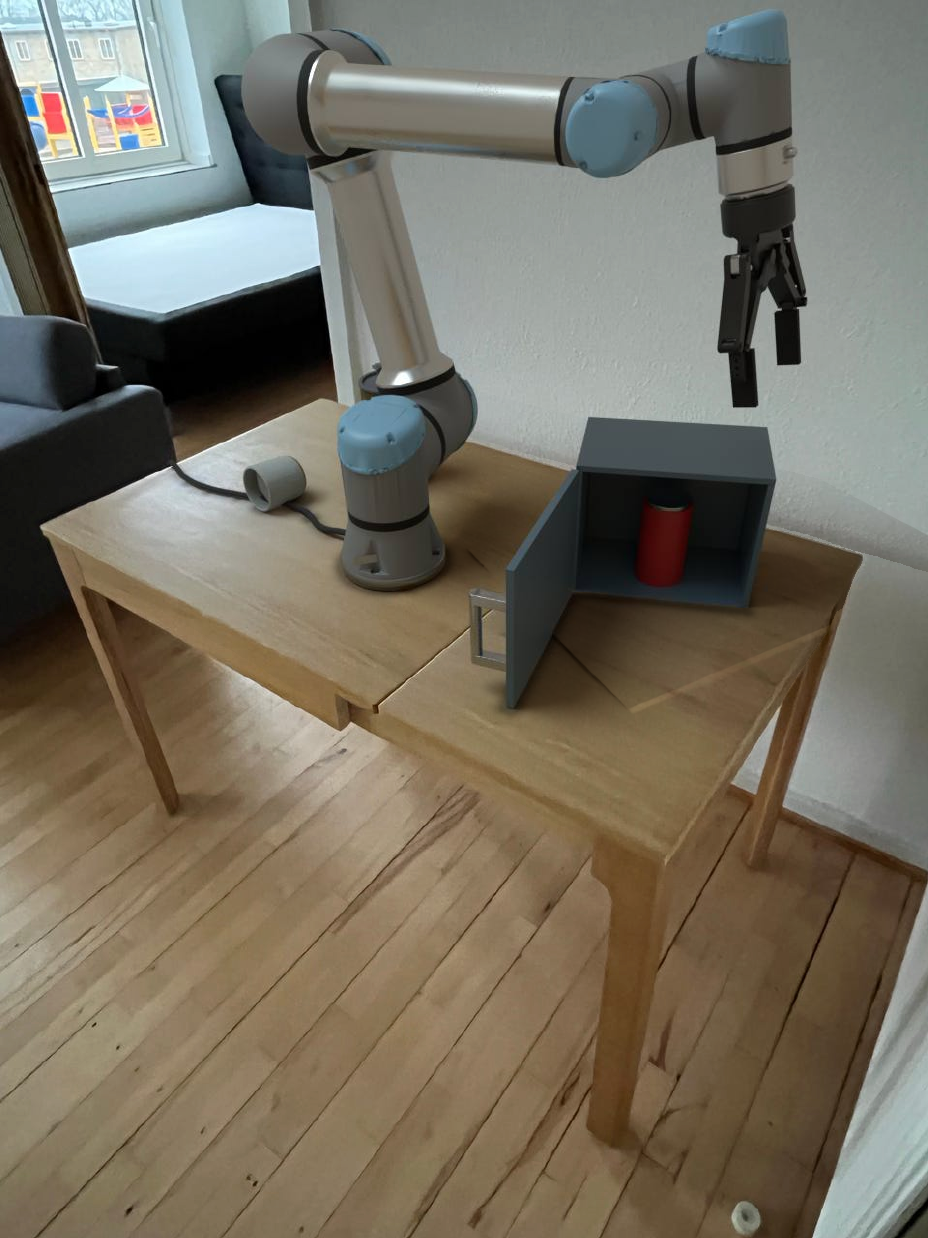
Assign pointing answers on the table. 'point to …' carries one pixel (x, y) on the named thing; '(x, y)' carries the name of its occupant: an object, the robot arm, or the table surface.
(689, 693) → the table surface
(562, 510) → the fridge door
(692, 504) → the can
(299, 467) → the ceramic mug
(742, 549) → the fridge
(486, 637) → the table surface
